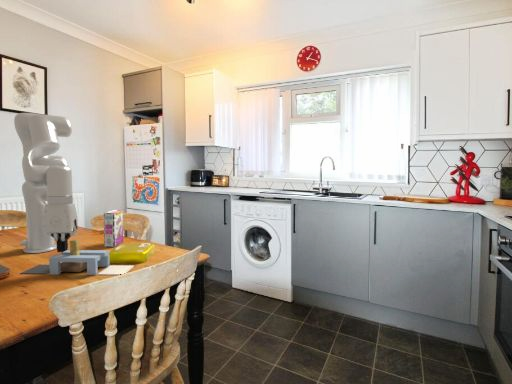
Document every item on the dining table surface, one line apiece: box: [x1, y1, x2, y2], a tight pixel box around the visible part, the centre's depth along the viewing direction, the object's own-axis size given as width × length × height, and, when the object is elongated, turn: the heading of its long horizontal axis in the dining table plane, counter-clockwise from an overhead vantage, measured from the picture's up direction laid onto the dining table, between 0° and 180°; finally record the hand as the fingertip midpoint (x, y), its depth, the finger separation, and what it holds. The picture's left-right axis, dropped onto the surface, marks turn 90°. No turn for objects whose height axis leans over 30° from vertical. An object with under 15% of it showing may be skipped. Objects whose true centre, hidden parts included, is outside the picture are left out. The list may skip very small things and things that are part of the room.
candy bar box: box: [103, 209, 124, 248], centre depth 139 cm, size 11×5×16 cm, turn 5°
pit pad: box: [19, 263, 50, 275], centre depth 104 cm, size 9×9×1 cm
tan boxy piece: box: [60, 239, 87, 273], centre depth 104 cm, size 7×6×11 cm
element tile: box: [109, 242, 156, 264], centre depth 120 cm, size 15×15×5 cm
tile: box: [97, 264, 135, 276], centre depth 104 cm, size 9×9×1 cm
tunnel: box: [48, 249, 111, 276], centre depth 104 cm, size 16×9×6 cm, turn 90°
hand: (62, 251), depth 104 cm, fingers closed
